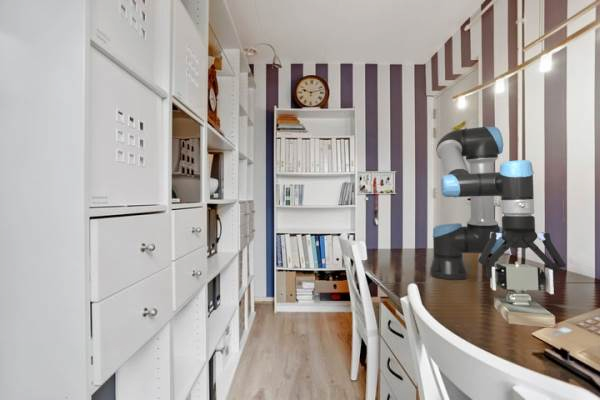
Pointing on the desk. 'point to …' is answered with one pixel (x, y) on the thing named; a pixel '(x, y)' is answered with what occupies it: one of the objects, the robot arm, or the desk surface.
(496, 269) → the pneumatic valve
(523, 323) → the book
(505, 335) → the desk surface
